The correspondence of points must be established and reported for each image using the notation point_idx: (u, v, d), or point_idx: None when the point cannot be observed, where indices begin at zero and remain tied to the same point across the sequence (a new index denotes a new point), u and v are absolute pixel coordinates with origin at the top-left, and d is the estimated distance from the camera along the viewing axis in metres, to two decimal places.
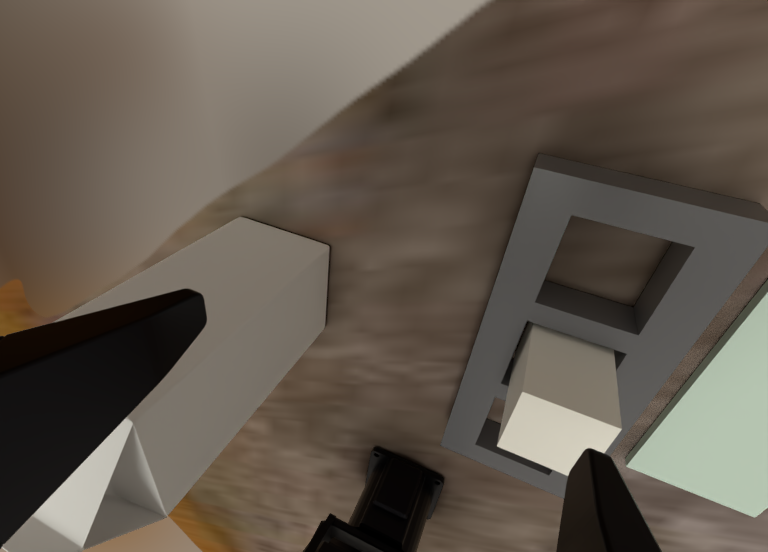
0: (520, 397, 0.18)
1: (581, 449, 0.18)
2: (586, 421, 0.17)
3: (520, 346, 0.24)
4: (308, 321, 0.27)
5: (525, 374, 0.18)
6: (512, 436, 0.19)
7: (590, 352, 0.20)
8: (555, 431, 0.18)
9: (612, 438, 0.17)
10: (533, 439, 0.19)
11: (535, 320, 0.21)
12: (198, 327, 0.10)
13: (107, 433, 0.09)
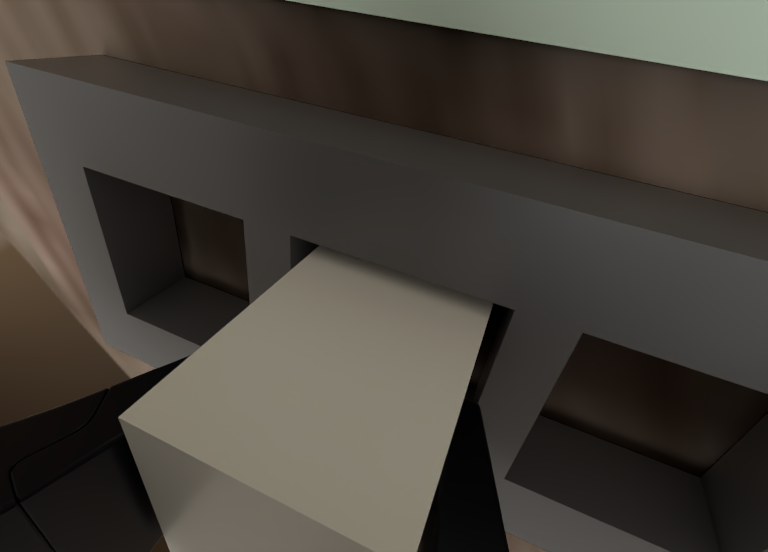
0: None
1: (252, 519, 0.05)
2: (154, 480, 0.06)
3: None
4: None
5: None
6: None
7: None
8: (231, 546, 0.06)
9: (160, 442, 0.05)
10: None
11: None
12: None
13: None
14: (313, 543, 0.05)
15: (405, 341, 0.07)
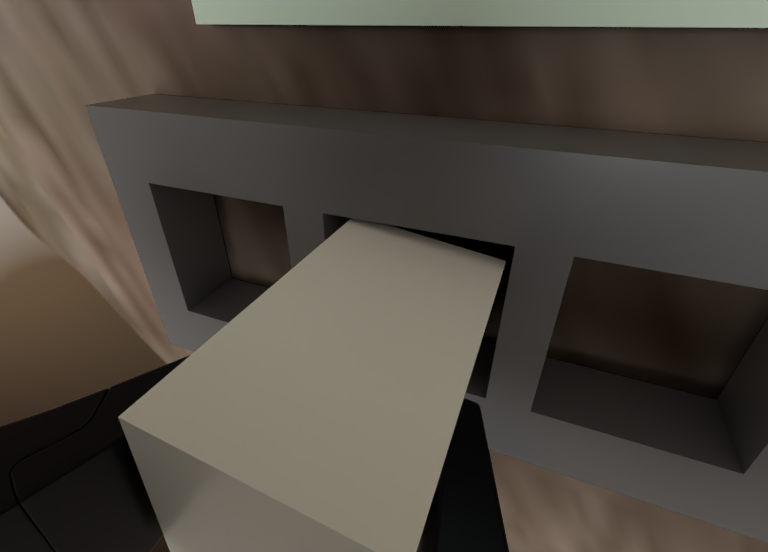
0: None
1: (252, 520, 0.05)
2: (154, 480, 0.06)
3: None
4: None
5: None
6: None
7: None
8: (231, 546, 0.06)
9: (160, 442, 0.05)
10: None
11: None
12: None
13: None
14: (312, 543, 0.05)
15: (405, 341, 0.07)
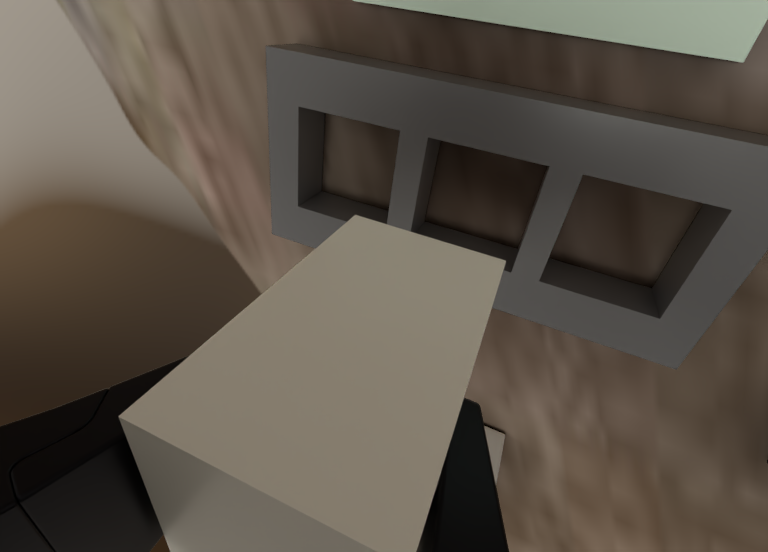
0: None
1: (252, 519, 0.05)
2: (154, 480, 0.06)
3: None
4: None
5: None
6: None
7: None
8: (231, 545, 0.06)
9: (161, 442, 0.05)
10: None
11: None
12: None
13: None
14: (313, 543, 0.05)
15: (404, 341, 0.07)
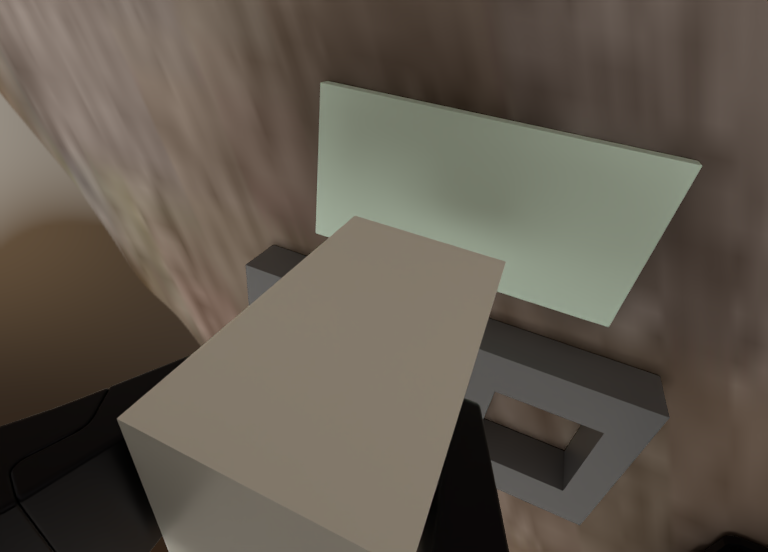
0: None
1: (251, 521, 0.05)
2: (153, 481, 0.06)
3: None
4: None
5: None
6: None
7: None
8: (230, 548, 0.06)
9: (159, 444, 0.05)
10: None
11: None
12: None
13: None
14: (311, 544, 0.05)
15: (404, 342, 0.07)
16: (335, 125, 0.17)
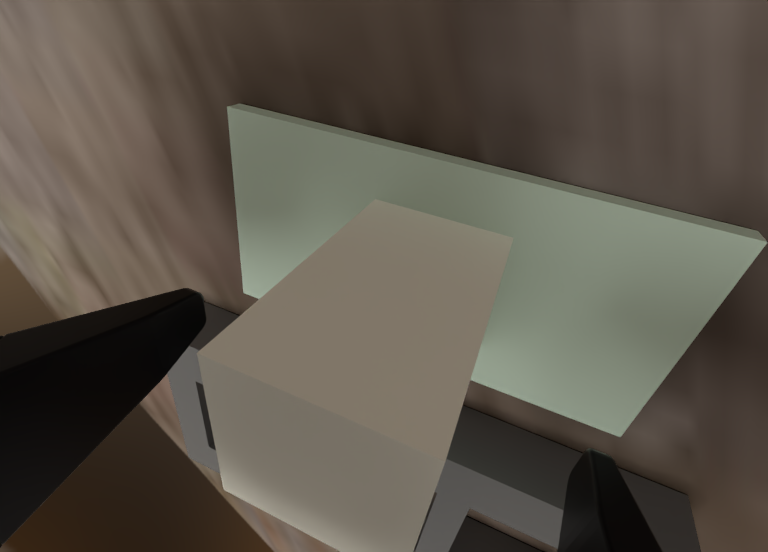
0: (239, 496, 0.08)
1: (309, 438, 0.06)
2: (220, 412, 0.07)
3: None
4: None
5: None
6: (350, 545, 0.08)
7: None
8: (285, 470, 0.07)
9: (233, 372, 0.06)
10: (335, 514, 0.07)
11: None
12: (198, 327, 0.10)
13: (106, 433, 0.09)
14: (361, 451, 0.06)
15: (428, 300, 0.08)
16: (252, 163, 0.13)
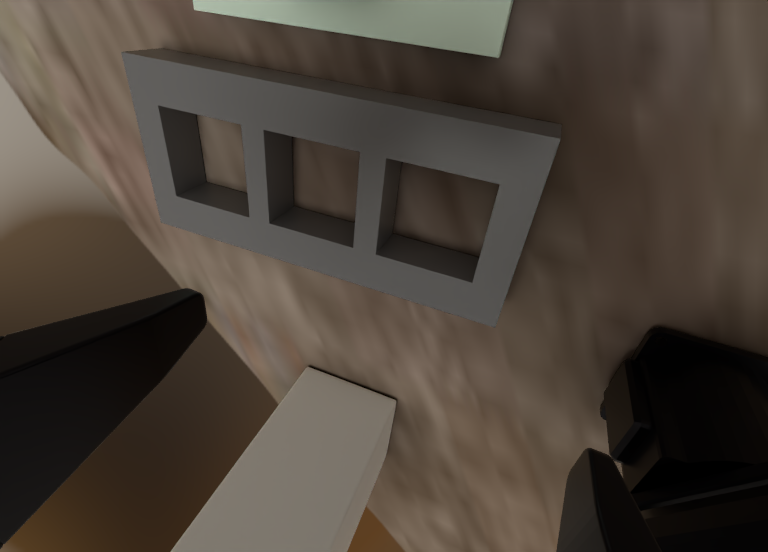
0: None
1: None
2: None
3: None
4: (347, 414, 0.27)
5: None
6: None
7: None
8: None
9: None
10: None
11: (266, 216, 0.21)
12: (198, 327, 0.10)
13: (107, 433, 0.09)
14: None
15: None
16: None
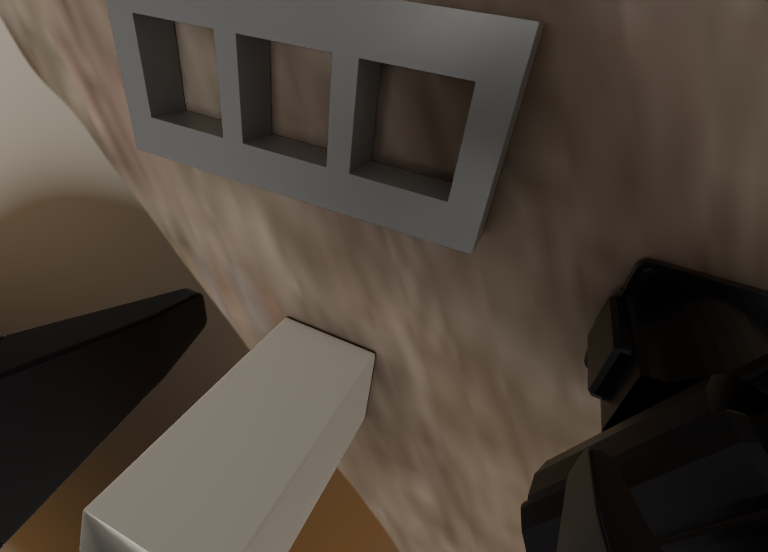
0: None
1: None
2: None
3: None
4: (321, 363, 0.26)
5: None
6: None
7: None
8: None
9: None
10: None
11: (239, 135, 0.20)
12: (198, 327, 0.10)
13: (107, 433, 0.09)
14: None
15: None
16: None
